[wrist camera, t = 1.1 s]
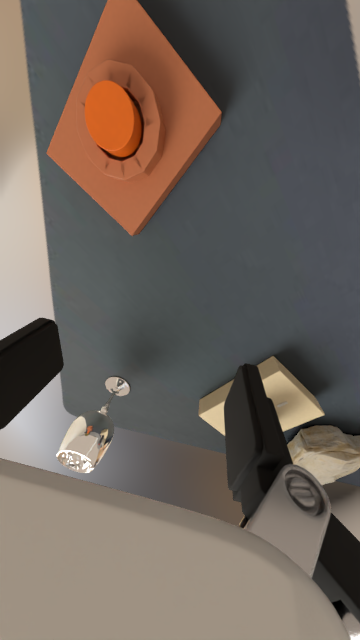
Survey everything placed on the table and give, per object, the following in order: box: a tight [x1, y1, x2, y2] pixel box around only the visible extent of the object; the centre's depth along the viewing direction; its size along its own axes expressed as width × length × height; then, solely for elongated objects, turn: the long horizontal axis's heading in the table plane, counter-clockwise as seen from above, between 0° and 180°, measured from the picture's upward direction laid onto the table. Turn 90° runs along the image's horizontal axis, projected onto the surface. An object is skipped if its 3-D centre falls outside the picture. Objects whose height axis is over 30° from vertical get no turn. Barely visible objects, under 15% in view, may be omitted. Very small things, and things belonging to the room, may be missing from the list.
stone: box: [287, 425, 360, 485], centre depth 33 cm, size 21×12×5 cm, turn 145°
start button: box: [85, 80, 142, 157], centre depth 14 cm, size 4×4×2 cm
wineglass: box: [57, 377, 130, 473], centre depth 29 cm, size 6×6×12 cm
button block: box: [47, 0, 222, 236], centre depth 16 cm, size 12×10×4 cm
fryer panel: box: [199, 356, 325, 436], centre depth 29 cm, size 14×10×3 cm
